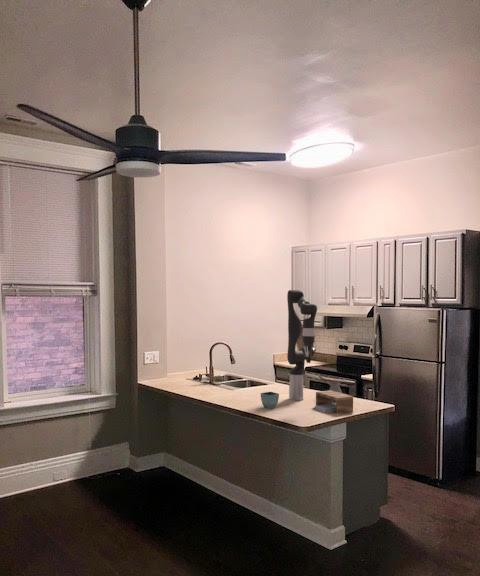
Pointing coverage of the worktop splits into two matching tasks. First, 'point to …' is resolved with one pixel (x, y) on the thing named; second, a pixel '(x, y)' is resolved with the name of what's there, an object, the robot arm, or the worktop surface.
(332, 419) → the worktop surface
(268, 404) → the flower pot
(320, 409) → the panel
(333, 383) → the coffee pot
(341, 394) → the brown cardboard box
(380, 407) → the worktop surface
